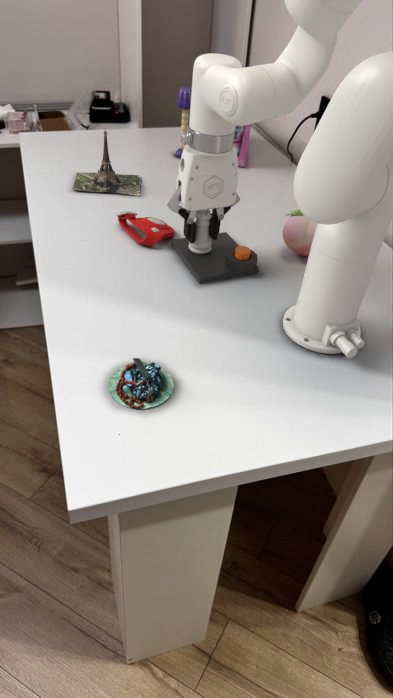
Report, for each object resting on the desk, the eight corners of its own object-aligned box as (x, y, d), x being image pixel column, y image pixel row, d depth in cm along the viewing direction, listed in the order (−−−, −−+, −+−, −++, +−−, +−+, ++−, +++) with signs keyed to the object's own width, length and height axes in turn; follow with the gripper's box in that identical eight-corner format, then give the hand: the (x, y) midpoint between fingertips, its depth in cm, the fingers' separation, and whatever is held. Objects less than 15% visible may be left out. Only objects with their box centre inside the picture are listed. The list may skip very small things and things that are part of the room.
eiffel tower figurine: (140, 177, 127) (141, 119, 119) (139, 195, 120) (140, 135, 111) (77, 174, 126) (73, 115, 117) (72, 192, 118) (67, 131, 110)
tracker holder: (175, 220, 110) (177, 233, 101) (169, 240, 112) (170, 254, 103) (118, 203, 107) (114, 214, 98) (113, 224, 109) (109, 236, 100)
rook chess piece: (209, 256, 99) (213, 217, 94) (185, 252, 100) (188, 213, 94) (213, 245, 103) (217, 207, 97) (190, 241, 103) (194, 203, 98)
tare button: (252, 259, 97) (253, 252, 96) (238, 261, 96) (239, 254, 95) (245, 252, 99) (246, 244, 98) (231, 254, 98) (232, 246, 97)
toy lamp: (190, 160, 138) (196, 91, 128) (173, 158, 138) (176, 90, 127) (191, 153, 142) (196, 86, 131) (173, 152, 142) (177, 84, 131)
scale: (260, 274, 99) (263, 260, 97) (199, 285, 94) (201, 270, 92) (227, 237, 108) (228, 224, 106) (170, 245, 104) (171, 232, 102)
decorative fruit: (326, 249, 108) (338, 203, 101) (322, 269, 102) (335, 222, 95) (280, 240, 109) (290, 194, 103) (274, 259, 103) (284, 211, 97)
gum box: (246, 169, 136) (254, 114, 128) (215, 166, 136) (221, 111, 128) (244, 138, 155) (251, 87, 146) (217, 135, 155) (222, 85, 146)
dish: (182, 388, 71) (138, 353, 69) (147, 428, 71) (102, 395, 69) (176, 372, 78) (136, 340, 76) (144, 408, 79) (104, 378, 77)
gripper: (172, 151, 82) (166, 254, 94) (265, 144, 88) (249, 242, 100) (155, 134, 87) (152, 234, 99) (244, 129, 93) (231, 223, 105)
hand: (201, 237), depth 99 cm, fingers open, 4 cm apart
